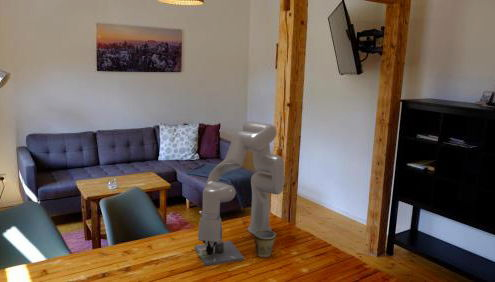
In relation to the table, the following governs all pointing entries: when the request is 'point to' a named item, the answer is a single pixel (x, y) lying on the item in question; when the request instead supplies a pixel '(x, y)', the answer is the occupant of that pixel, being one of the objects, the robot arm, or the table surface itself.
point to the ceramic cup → (264, 242)
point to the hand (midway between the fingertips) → (209, 253)
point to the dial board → (228, 254)
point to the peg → (217, 249)
